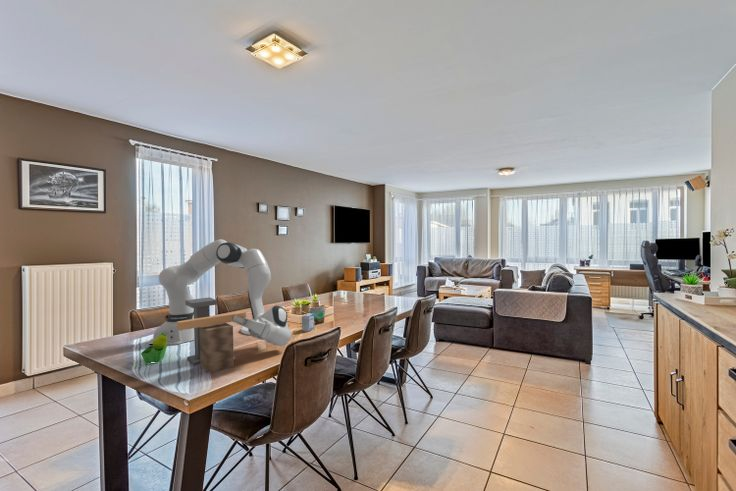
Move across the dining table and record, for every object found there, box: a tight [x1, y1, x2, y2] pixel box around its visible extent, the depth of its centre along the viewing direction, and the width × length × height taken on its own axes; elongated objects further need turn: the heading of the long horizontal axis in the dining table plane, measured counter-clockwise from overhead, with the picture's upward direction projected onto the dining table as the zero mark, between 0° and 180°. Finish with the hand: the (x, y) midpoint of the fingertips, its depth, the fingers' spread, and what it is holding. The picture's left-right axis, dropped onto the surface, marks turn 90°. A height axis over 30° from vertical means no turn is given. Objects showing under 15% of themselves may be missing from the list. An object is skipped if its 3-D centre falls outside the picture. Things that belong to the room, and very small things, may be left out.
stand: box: [185, 297, 218, 367], centre depth 153 cm, size 10×10×26 cm
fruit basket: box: [140, 334, 168, 364], centre depth 155 cm, size 11×9×11 cm
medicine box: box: [301, 312, 315, 333], centre depth 202 cm, size 8×4×9 cm, turn 168°
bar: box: [177, 311, 247, 331], centre depth 145 cm, size 26×3×3 cm, turn 131°
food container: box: [308, 304, 327, 325], centre depth 218 cm, size 12×6×10 cm, turn 148°
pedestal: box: [199, 322, 235, 374], centre depth 146 cm, size 10×10×16 cm
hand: (231, 316), depth 150 cm, fingers closed on bar, 3 cm apart
